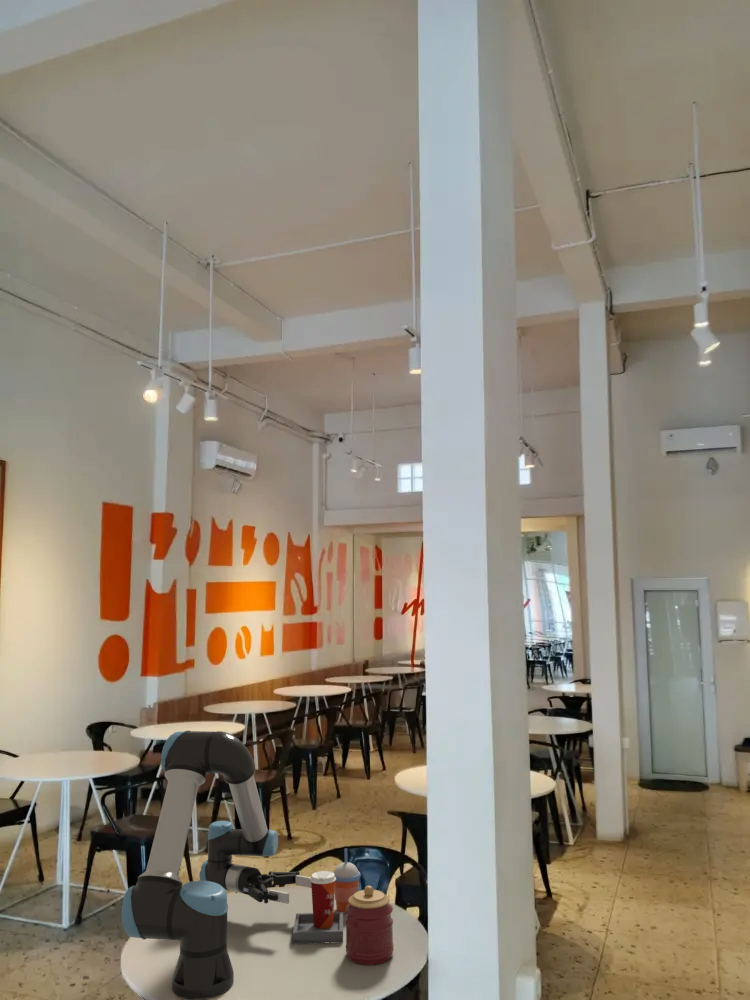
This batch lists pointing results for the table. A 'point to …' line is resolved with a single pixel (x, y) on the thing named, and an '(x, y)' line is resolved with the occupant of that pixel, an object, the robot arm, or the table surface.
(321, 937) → the tray
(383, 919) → the canister
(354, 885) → the cup with straw
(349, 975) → the table surface
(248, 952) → the table surface
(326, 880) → the paper cup
